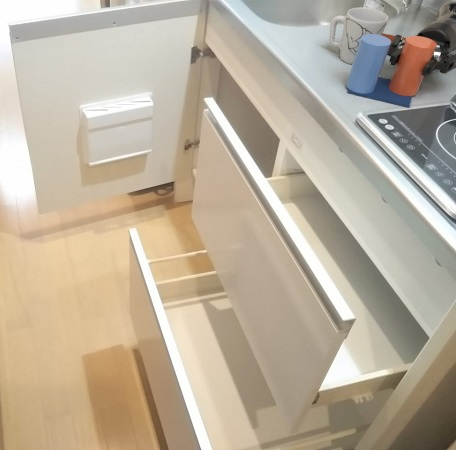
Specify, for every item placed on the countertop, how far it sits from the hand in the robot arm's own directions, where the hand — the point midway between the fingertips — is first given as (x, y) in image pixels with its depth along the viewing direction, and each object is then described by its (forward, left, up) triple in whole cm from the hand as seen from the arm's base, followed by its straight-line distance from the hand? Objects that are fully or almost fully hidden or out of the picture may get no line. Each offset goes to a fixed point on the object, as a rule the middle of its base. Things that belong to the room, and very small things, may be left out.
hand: (409, 65), depth 100 cm
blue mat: (+3, -1, -6) cm, 7 cm away
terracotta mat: (+6, -27, -6) cm, 28 cm away
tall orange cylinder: (-1, -2, -6) cm, 6 cm away
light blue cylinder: (+7, +1, -6) cm, 10 cm away
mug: (+12, -13, -7) cm, 19 cm away
